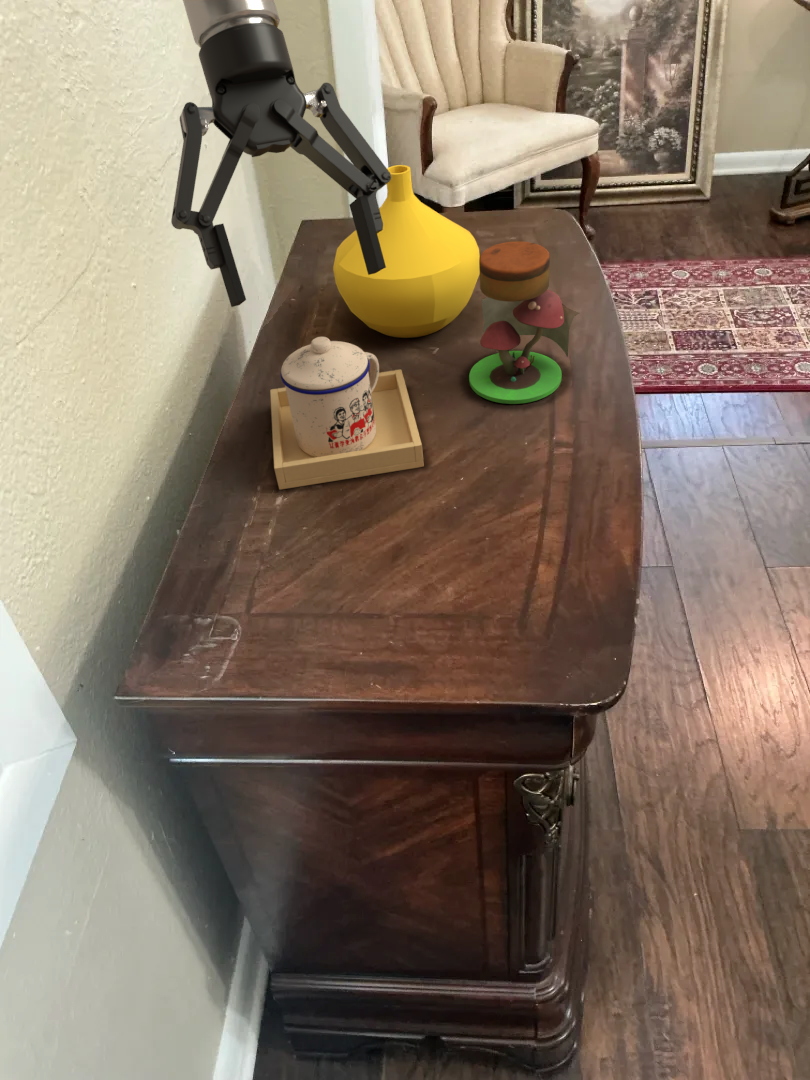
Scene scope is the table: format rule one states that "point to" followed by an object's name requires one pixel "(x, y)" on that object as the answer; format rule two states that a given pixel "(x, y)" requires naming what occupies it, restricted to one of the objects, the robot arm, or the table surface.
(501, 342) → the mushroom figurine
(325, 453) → the teacup with lid
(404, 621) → the table surface
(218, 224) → the robot arm
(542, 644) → the table surface
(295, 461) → the wooden tray
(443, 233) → the vase
